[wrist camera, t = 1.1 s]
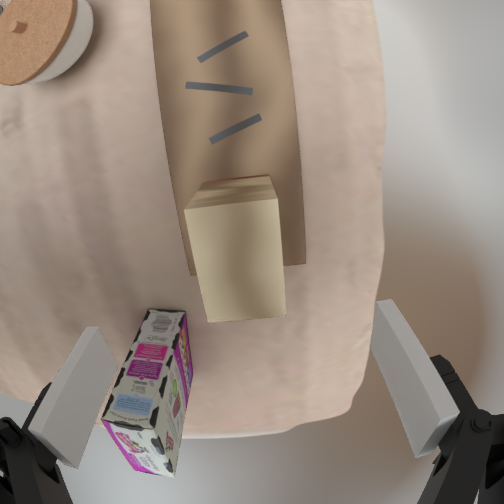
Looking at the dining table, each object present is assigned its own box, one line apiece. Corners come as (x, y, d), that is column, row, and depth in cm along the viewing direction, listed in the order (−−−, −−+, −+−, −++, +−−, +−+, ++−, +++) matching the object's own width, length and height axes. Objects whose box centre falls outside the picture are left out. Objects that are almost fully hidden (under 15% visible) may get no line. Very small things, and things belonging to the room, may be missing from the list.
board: (192, 271, 32) (190, 275, 31) (151, -6, 20) (149, -9, 19) (304, 260, 32) (306, 263, 31) (275, -25, 19) (275, -28, 18)
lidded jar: (30, 98, 23) (-27, 101, 14) (34, 18, 19) (-17, 4, 10) (108, 72, 23) (56, 60, 14) (112, -14, 18) (70, -47, 10)
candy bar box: (145, 307, 34) (97, 418, 19) (186, 309, 34) (154, 429, 19) (159, 371, 39) (132, 472, 24) (194, 374, 39) (177, 479, 24)
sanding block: (218, 268, 31) (208, 322, 23) (203, 181, 27) (183, 209, 19) (276, 262, 31) (286, 315, 22) (268, 174, 27) (277, 198, 19)
